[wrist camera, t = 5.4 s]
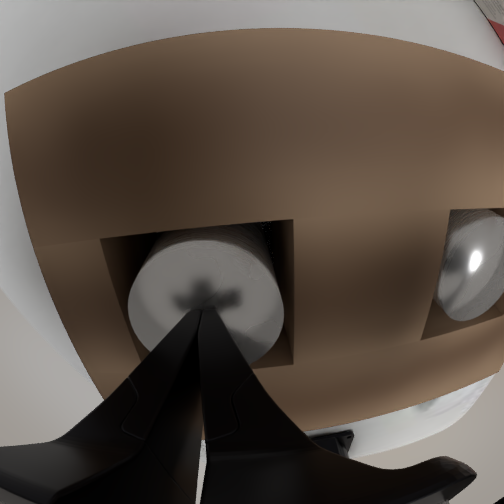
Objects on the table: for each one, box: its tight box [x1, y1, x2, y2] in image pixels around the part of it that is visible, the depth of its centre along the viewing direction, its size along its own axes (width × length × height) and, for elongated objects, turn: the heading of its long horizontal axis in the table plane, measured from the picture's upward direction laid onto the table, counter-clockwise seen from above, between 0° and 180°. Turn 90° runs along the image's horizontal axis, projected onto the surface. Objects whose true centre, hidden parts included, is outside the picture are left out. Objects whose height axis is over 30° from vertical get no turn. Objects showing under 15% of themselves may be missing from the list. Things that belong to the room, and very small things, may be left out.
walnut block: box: [4, 28, 504, 440], centre depth 12 cm, size 16×22×6 cm
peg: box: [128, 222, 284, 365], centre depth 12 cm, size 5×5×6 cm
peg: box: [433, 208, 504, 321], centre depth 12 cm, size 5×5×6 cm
